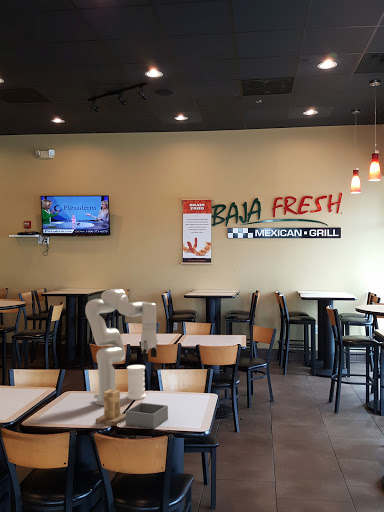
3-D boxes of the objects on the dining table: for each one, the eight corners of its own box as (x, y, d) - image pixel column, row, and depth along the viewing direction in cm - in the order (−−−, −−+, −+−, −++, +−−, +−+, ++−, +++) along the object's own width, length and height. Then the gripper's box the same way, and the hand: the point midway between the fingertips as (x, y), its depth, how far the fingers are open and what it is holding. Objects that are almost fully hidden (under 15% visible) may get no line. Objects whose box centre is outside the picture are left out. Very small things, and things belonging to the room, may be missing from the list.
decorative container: (122, 398, 290) (122, 367, 290) (134, 393, 300) (133, 364, 300) (139, 400, 284) (138, 369, 284) (150, 395, 295) (149, 365, 295)
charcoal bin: (125, 425, 242) (125, 411, 242) (141, 415, 256) (141, 402, 256) (153, 429, 236) (153, 414, 236) (168, 419, 250) (167, 405, 250)
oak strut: (104, 417, 248) (103, 392, 248) (110, 414, 253) (110, 389, 254) (114, 419, 246) (113, 393, 246) (120, 415, 251) (119, 390, 251)
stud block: (95, 423, 247) (95, 404, 247) (108, 415, 258) (108, 398, 258) (116, 425, 242) (115, 406, 242) (128, 418, 253) (128, 400, 253)
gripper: (150, 323, 267) (150, 355, 267) (135, 328, 251) (135, 361, 251) (162, 324, 264) (163, 356, 264) (148, 329, 248) (148, 362, 248)
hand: (149, 358), depth 258 cm, fingers open, 9 cm apart
